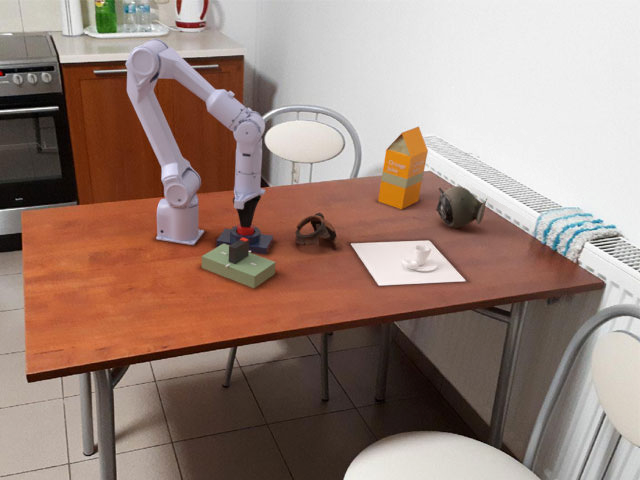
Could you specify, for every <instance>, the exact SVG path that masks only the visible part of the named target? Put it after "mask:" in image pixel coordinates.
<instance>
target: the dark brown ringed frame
mask: <svg viewBox="0 0 640 480" xmlns="http://www.w3.org/2000/svg"><path fill="white" fill-rule="evenodd" d="M309 223H310V225H311V227H312V229H313V232H311V233H309V234H302V233H300V232H301V230H302V228H303V227H306V225H307V224H309ZM320 238H322V239H323V238H325V240H326V241H332V242H333V246H334V249H335V250H338V248H339V246H338V245H339V244H338V235H337V231H336V230H335V227H334V226H333V225H332V223H331V222H330V221H328V220H326V219H325V216H324V214H323V213H322V212H317V213H315V214H314V215H309V216H306V217H305V218H303V219H301V220H300V221H299V222H298V223H297V225H296V230H295V243H296V244H297V245H300V246H310V245H317V246H320Z"/></svg>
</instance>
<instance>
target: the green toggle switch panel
mask: <svg viewBox="0 0 640 480" xmlns="http://www.w3.org/2000/svg"><path fill="white" fill-rule="evenodd" d="M229 246H230V245H227V244H222V245H220V246H219V247H215V248H213V249H211V250H210V251H208V252H206V253H205V254H203V255H202V256H201V268H202V269H203V270H206V271H209V272H211V273H214V274H216V275H219V276H221V277H224V278H226V279H228V280H232V281H234V282H237V283H239V284H242V285H243V286H248V287H250V288H252V289H256V288H257V287H259V286H260V285H261V284H263V283H265V281H268V279H270V278H271V277H273V276H274V275H275V274H276V264H277V262H276V261H274V260H271V259H268V258H265V257H262V256H260V255H257V254H256V253H253V252H251V251H249V256H247V257H246V258H244V259H243V260H241V261H239V262H238V263H236V264H233V263H231V262H228V261H229Z"/></svg>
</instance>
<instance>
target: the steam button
mask: <svg viewBox="0 0 640 480" xmlns="http://www.w3.org/2000/svg"><path fill="white" fill-rule="evenodd" d="M236 226H237V233H238V234H240V235H252V234H254V226H255V224H254V223H252V224H251V226H250V228H247V227H241V225H240V222H239V223H237V225H236Z"/></svg>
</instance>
